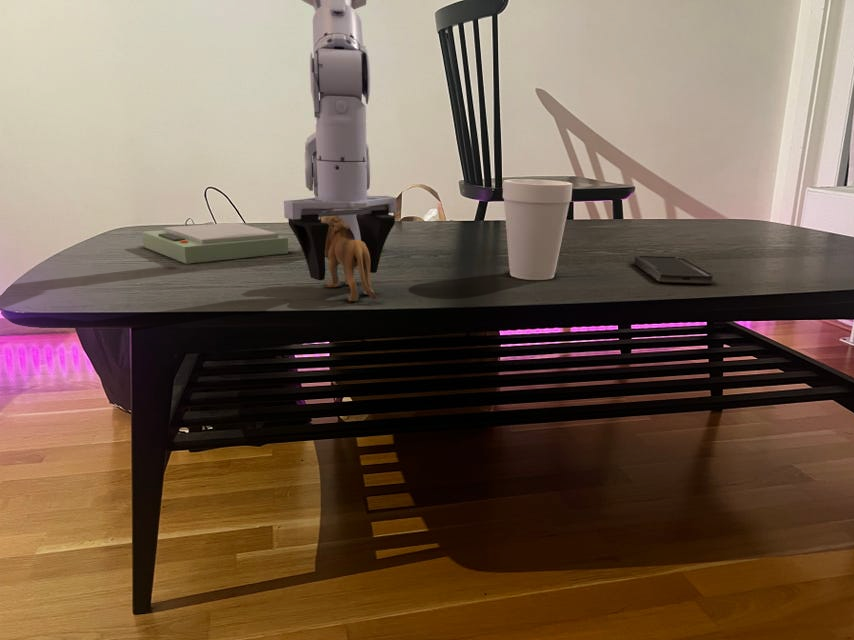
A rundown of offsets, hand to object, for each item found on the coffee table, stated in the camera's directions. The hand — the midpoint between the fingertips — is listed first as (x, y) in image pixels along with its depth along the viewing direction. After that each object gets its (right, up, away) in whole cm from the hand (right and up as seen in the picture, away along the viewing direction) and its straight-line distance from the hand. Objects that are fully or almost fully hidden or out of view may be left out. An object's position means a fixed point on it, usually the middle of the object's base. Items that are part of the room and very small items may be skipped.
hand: (344, 275), depth 86 cm
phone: (+45, +3, +19) cm, 49 cm away
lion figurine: (0, -2, +1) cm, 2 cm away
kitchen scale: (-24, +7, +23) cm, 34 cm away
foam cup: (+24, +2, +14) cm, 28 cm away
